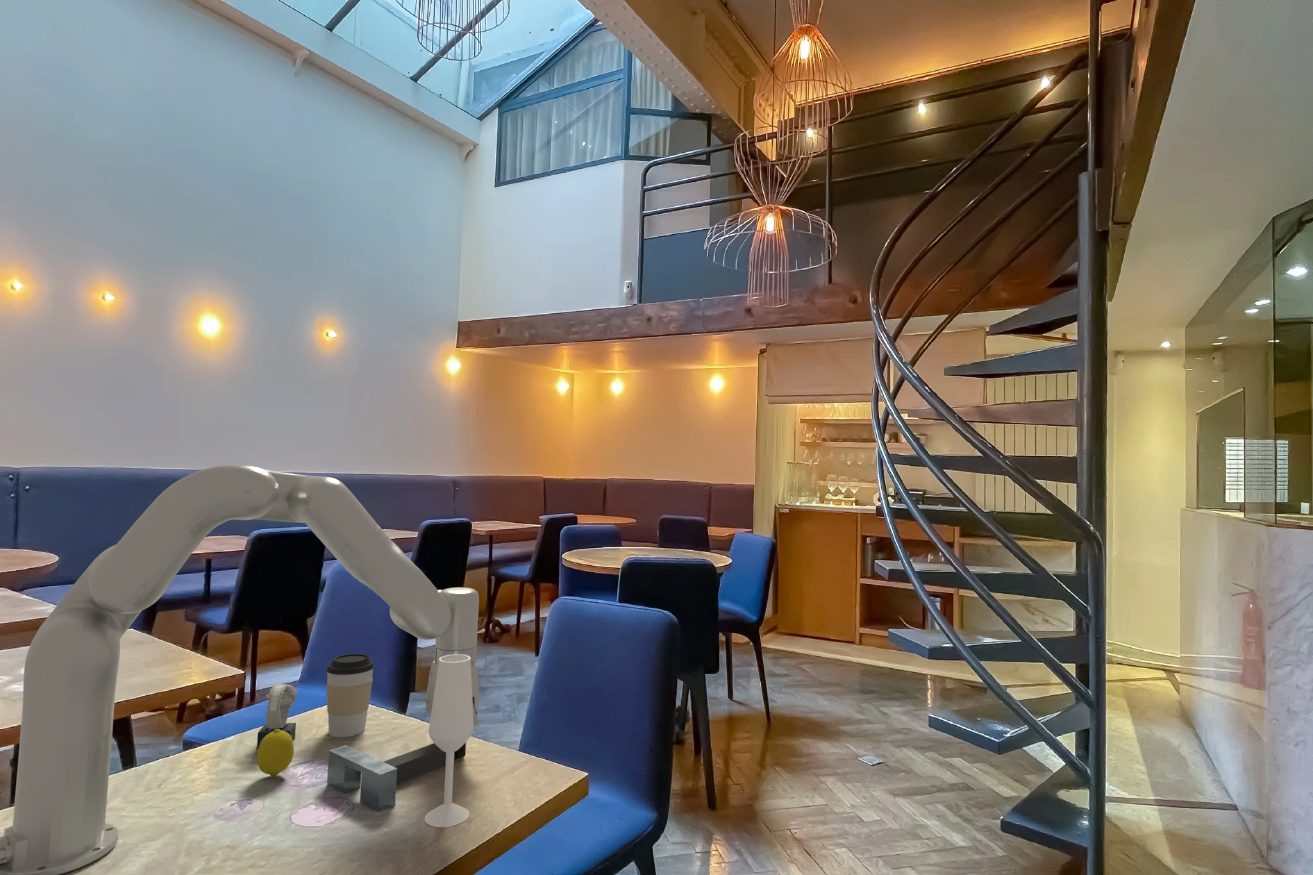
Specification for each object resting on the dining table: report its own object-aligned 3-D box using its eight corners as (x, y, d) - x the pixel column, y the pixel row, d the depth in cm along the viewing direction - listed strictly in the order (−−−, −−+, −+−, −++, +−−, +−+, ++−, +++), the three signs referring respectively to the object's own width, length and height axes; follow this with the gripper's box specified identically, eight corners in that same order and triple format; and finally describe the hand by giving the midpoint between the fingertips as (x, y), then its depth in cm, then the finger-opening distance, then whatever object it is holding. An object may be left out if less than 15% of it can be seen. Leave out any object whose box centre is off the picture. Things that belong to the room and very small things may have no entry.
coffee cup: (317, 740, 131) (321, 662, 132) (328, 723, 140) (332, 650, 141) (366, 737, 133) (371, 661, 134) (374, 721, 142) (378, 649, 143)
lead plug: (384, 789, 112) (385, 769, 112) (372, 784, 113) (374, 764, 114) (463, 757, 125) (464, 740, 125) (452, 753, 127) (453, 735, 127)
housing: (378, 811, 104) (380, 774, 105) (326, 784, 113) (329, 750, 113) (395, 804, 107) (397, 768, 107) (343, 778, 115) (345, 744, 116)
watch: (297, 734, 133) (301, 678, 134) (286, 751, 126) (290, 691, 126) (266, 736, 132) (269, 679, 133) (253, 753, 124) (257, 692, 125)
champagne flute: (447, 801, 108) (454, 650, 110) (478, 812, 105) (486, 656, 107) (414, 819, 102) (422, 659, 104) (447, 831, 99) (455, 666, 101)
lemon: (264, 787, 111) (267, 737, 112) (249, 777, 115) (253, 729, 115) (298, 776, 116) (301, 728, 116) (283, 767, 119) (286, 720, 119)
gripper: (411, 651, 127) (406, 751, 126) (468, 667, 118) (463, 775, 117) (444, 644, 133) (439, 739, 132) (500, 659, 124) (496, 761, 123)
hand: (450, 755), depth 125 cm, fingers closed on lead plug, 3 cm apart
